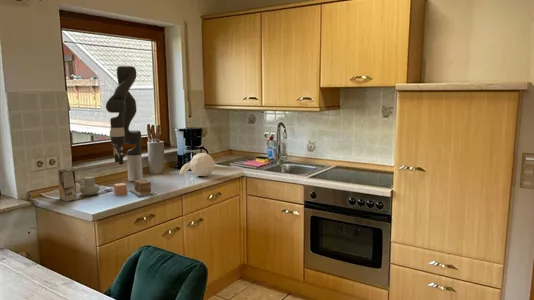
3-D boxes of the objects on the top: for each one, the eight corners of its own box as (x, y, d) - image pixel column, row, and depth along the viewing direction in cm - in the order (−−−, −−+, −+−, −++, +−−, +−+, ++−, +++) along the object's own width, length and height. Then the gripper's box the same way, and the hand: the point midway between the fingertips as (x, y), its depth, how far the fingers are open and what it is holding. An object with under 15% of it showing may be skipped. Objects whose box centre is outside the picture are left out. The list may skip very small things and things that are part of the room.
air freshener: (101, 194, 232) (100, 177, 230) (86, 197, 226) (85, 180, 225) (93, 191, 240) (92, 174, 238) (79, 193, 234) (78, 177, 232)
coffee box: (77, 199, 223) (75, 170, 220) (65, 201, 218) (62, 172, 216) (71, 196, 229) (69, 168, 227) (59, 198, 225) (57, 169, 222)
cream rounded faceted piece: (210, 149, 273) (192, 145, 295) (186, 171, 264) (169, 165, 286) (223, 167, 280) (204, 161, 303) (200, 189, 271) (182, 181, 294)
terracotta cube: (114, 193, 236) (114, 184, 235) (124, 191, 239) (123, 182, 238) (117, 195, 231) (116, 185, 230) (126, 193, 234) (126, 184, 234)
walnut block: (134, 190, 239) (134, 180, 238) (144, 188, 242) (144, 179, 241) (140, 193, 231) (140, 183, 230) (151, 192, 234) (150, 182, 233)
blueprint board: (129, 191, 240) (129, 189, 240) (146, 188, 246) (146, 187, 246) (138, 197, 227) (138, 195, 227) (156, 194, 232) (156, 193, 232)
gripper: (128, 136, 226) (129, 164, 229) (120, 133, 238) (122, 161, 240) (114, 136, 222) (115, 165, 224) (107, 134, 234) (109, 162, 236)
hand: (119, 163), depth 232 cm, fingers open, 8 cm apart
